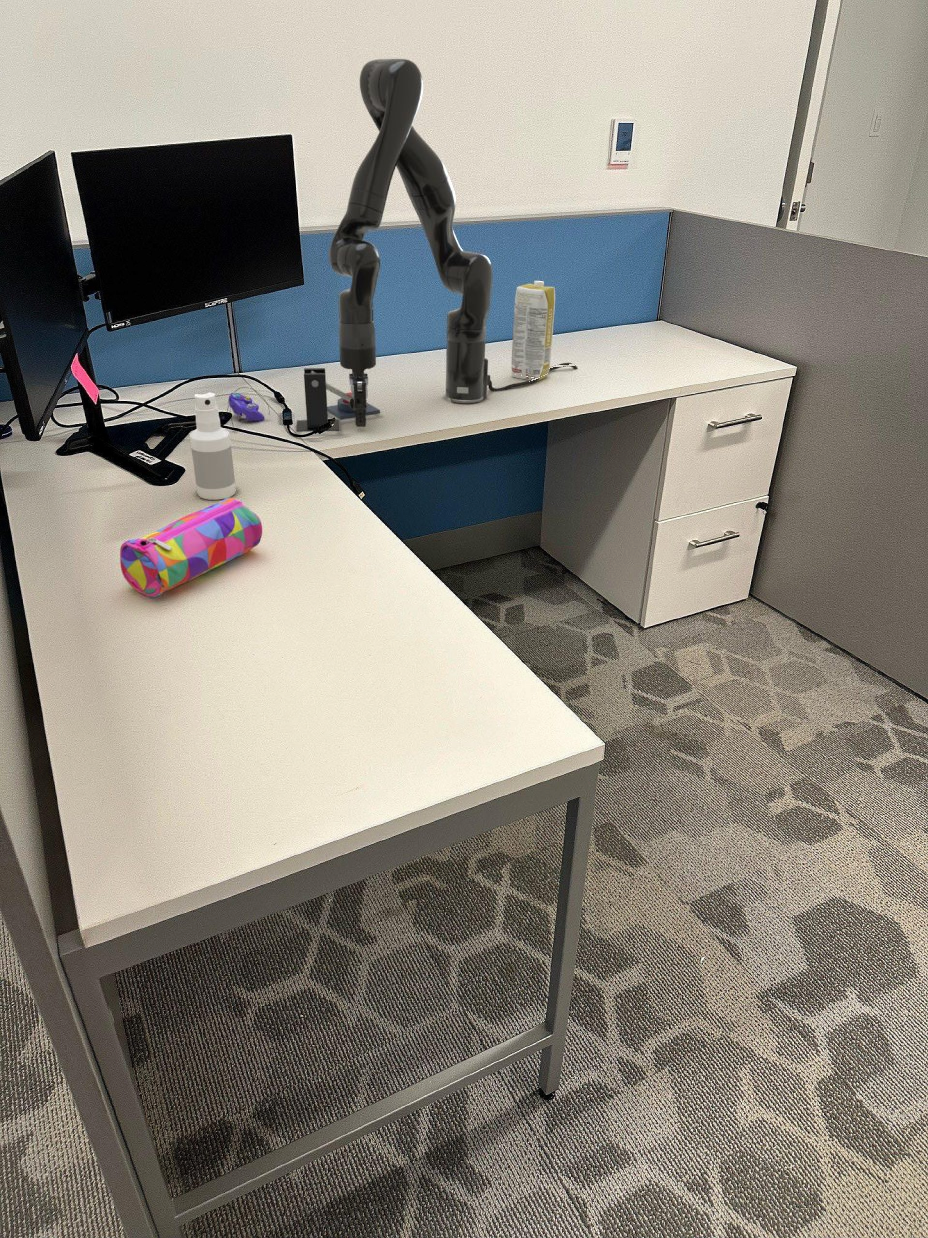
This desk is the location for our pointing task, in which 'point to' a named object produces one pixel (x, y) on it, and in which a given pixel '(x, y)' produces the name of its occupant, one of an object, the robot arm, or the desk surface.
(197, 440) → the spray bottle
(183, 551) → the pencil case
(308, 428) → the switch bracket
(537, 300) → the juice carton
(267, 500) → the desk surface
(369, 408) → the button box
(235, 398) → the game controller
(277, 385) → the desk surface
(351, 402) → the switch lever
